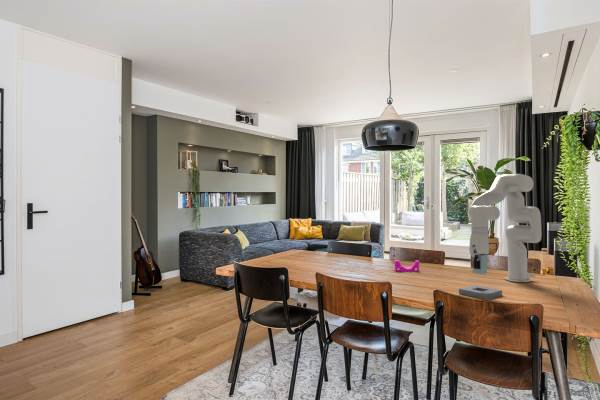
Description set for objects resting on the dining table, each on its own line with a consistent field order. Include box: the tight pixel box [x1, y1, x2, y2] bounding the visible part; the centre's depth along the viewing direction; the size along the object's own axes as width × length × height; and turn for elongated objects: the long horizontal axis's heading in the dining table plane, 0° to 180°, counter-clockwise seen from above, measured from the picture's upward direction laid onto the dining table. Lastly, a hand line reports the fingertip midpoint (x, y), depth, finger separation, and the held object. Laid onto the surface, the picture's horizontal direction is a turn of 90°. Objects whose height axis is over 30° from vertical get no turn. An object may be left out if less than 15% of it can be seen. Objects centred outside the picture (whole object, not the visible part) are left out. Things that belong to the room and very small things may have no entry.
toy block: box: [394, 259, 420, 273], centre depth 242 cm, size 15×6×8 cm, turn 81°
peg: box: [472, 255, 488, 275], centre depth 183 cm, size 4×4×9 cm
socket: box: [458, 284, 503, 300], centre depth 183 cm, size 14×14×2 cm
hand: (479, 267), depth 183 cm, fingers closed on peg, 4 cm apart
